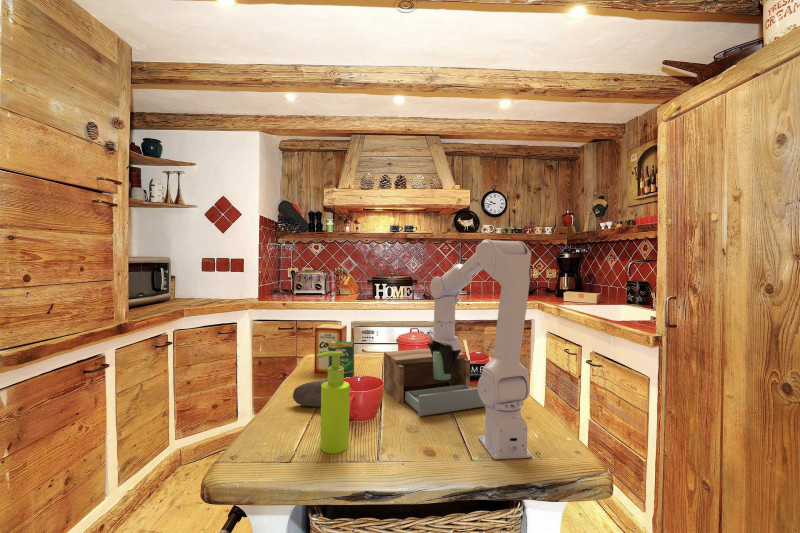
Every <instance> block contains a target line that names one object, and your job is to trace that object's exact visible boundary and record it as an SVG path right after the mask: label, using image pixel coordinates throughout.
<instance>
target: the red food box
mask: <svg viewBox="0 0 800 533" xmlns="http://www.w3.org/2000/svg"><path fill="white" fill-rule="evenodd" d="M347 329H348V328H347V325H346V324H345V325H342V324H333V323H330V324H329V323H328V324H325V323H324V324H320V325H317V326H316V327H314V365H313V366H314V369H313V371H314V372H313V373H315V374H328V367H329V356H327V357H322V358H319V357H317V355H316V354H319V353H322V352H326V351H329V343H330V342H348V341H347V338H348V337H347V335H348V334H347V333H348V331H347Z"/></svg>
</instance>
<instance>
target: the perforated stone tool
mask: <svg viewBox="0 0 800 533" xmlns="http://www.w3.org/2000/svg"><path fill="white" fill-rule="evenodd" d="M325 382H328V379H325V380H316V381H311V382H305V383H303V384H301V385H299V386H297V387H295V388H294V390H293V393H292V398H293V401H294V402H295V403H297V405H300V406H303V407H314V408H320V409H321V385H322V384H323V383H325Z"/></svg>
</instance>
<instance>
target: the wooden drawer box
mask: <svg viewBox="0 0 800 533" xmlns="http://www.w3.org/2000/svg"><path fill="white" fill-rule="evenodd" d="M382 379H383V381H384V389H383V390H384V391H385V392H387V394H389V395H390V396H391V397H392V398H393V399H394V400H395V401H396V402H397V403H398V404H402V403H404V388H410V387H419V386H420V387H421V386H429V385H435V384H436V385H437V384H445V382H446V383H447V384H448V383H449V384H448V385H449V386H456V385H464V384H465V385H467V386H469V387H470V380H471V377H470V360H468V359H466V353H464V352H462V351H461V352H460V353H459V355H458V357H457V359H456V361H455V365H454V368H453V372H452V374H451V378H450V379H449V380H437V379H434V378H433V357H432V354H431V351H430V348H418V349H406V350H405V349H404V350H395V351H383V378H382ZM383 381H382V382H383Z"/></svg>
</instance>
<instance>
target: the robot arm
mask: <svg viewBox="0 0 800 533" xmlns="http://www.w3.org/2000/svg"><path fill="white" fill-rule="evenodd" d="M531 259H532V252H531V250H530V249H529V248H528V246H527V245H526V244H525V243H524V241H520V240H516V241H513V240H492V239H490V238H489V239H487V238H486V239H483V240H481V242H480V243H479V244H477V245H476V247H475V253H473V254H472V256H470V257H469V258H468V259H467V260H466V261H465V262H464V263H463V264H462V263H455V264H453V265H452V268H450V269H449V270H448V271H447V272H445V273H444V274H443V275H442V276H434V277H433V278H432V279H431V281H430V288H429V289H430V294H431V296H432V297H433V298H434V299H433V300H434V301H433V303H434V304H433V332H428V340H429V341H431V342H427V347H428V349H430V351H431V354H432V357H433V351H435V350H440V352H441V355H442V360H443V370H444V374H452V372H453V368H454V365H455V361H456V359H457V357H458V355H459V353H460V352H461V353H462V342H460V341H459V336H457V335H456V334H455V331H456V327H455V326H456V305H457V303H458V300H459V299H458V297H459V295H460V293H461V290H463V289H464V288H465V287H467V286H468V285H469V284H471V283H472V281H473V276H475V275H476V274H478V273H480V272H482V271H483V270H484V271H485V273H487V274H488V275H489V277H491V279H493V280H495V281H497V282H498V284H499V285H500V296H499V304H498V310H497V311H498V312H497V320H496V321H497V322H496V329H495V338H494V346H493V353H492V354H493V355H492V358H491V359H490V360H489V361H488V362H487V363H486V364H485V365H484V366H483V367H482V371H481V375H480V377H479V378H478V382H477V388H478V394H479V397H480V399H481V400H482V402H483V404H485V405H486V406H485V422H484V424H485V425H484V426H485V428H484V429H485V430H484V435H478V440H479V441H480V442H481V443H482V445H483V446H484V449H486V451H487V452H488V453H489V455H490V456H491V458H492V459H494V460H504V459H505V460H507V459H527V458H531V457H532V454H531V453H530V452H529V451H528V425H527V423H526V421H525V419H524V417H523V416H522V409H521V408H522V407H523V406H524V402H525V401H526V400H527V399H528V398H529V395H530V393H531V392H530V390H531V389H530V388H531V387H530V383H529V375H530V374H529V373H530V372H529V370H528V369H527V368H526V366H525V365H523V364H522V363H521V361H520V360H521V352H522V345H523V338H524V330H525V322H526V315H527V314H526V313H527V308H528V307H527V306H528V299H529V293H530V292H529V291H530V283H531V282H530V281H531V280H530V267H531V261H532V260H531Z"/></svg>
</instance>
